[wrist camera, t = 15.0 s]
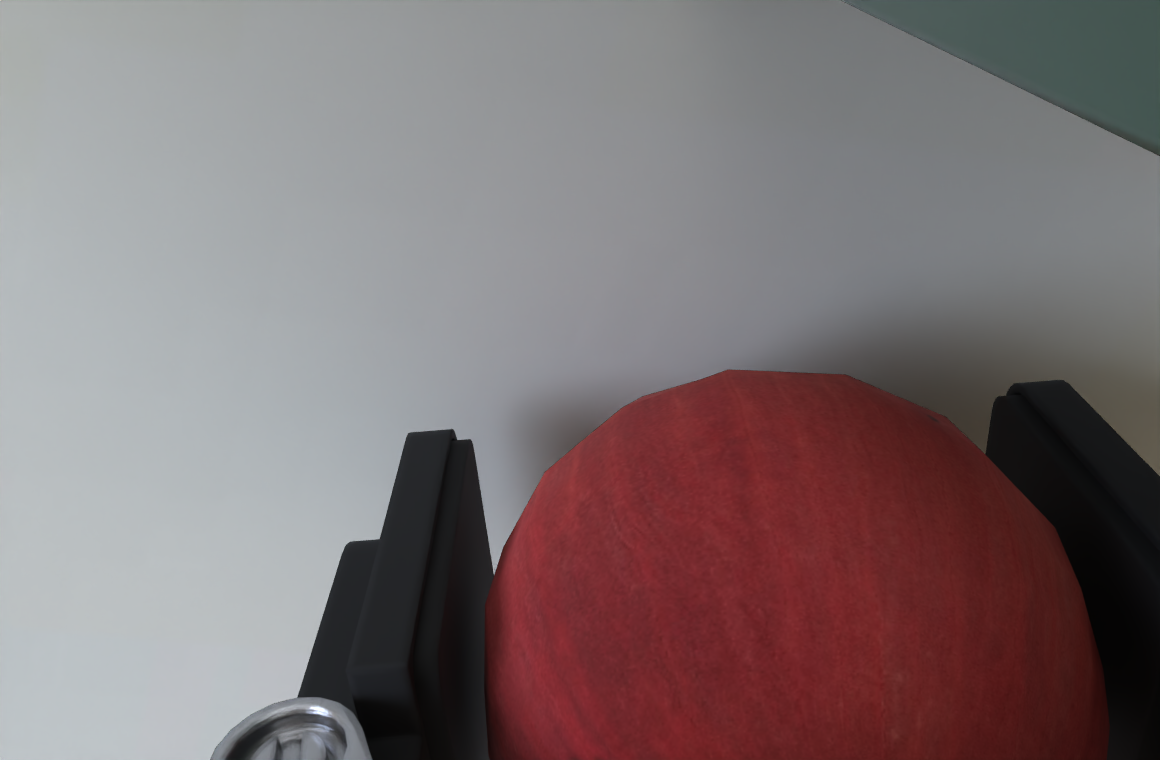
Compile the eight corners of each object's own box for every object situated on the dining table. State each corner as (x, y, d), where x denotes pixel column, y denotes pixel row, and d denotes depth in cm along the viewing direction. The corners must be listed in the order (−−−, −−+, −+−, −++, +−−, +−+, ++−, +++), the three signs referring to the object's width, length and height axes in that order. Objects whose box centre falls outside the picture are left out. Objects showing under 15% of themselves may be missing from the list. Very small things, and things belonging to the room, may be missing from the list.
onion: (700, 681, 15) (830, 1418, 8) (411, 465, 13) (240, 1192, 6) (1020, 451, 13) (1567, 1147, 6) (739, 157, 11) (1065, 685, 4)
